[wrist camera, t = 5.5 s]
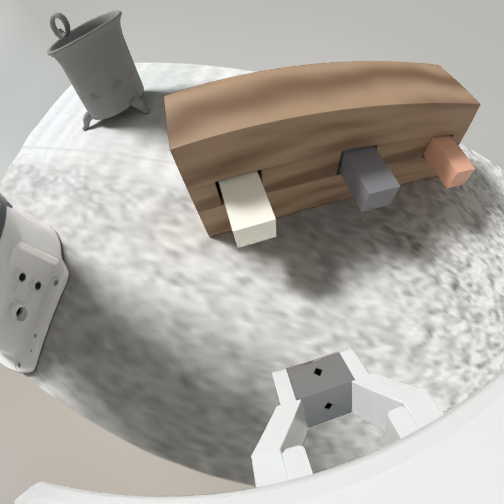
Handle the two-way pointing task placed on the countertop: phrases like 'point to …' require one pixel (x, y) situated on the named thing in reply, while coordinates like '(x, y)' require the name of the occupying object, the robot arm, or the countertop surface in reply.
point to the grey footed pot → (98, 65)
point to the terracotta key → (448, 161)
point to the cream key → (248, 209)
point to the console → (310, 129)
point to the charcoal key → (368, 178)
